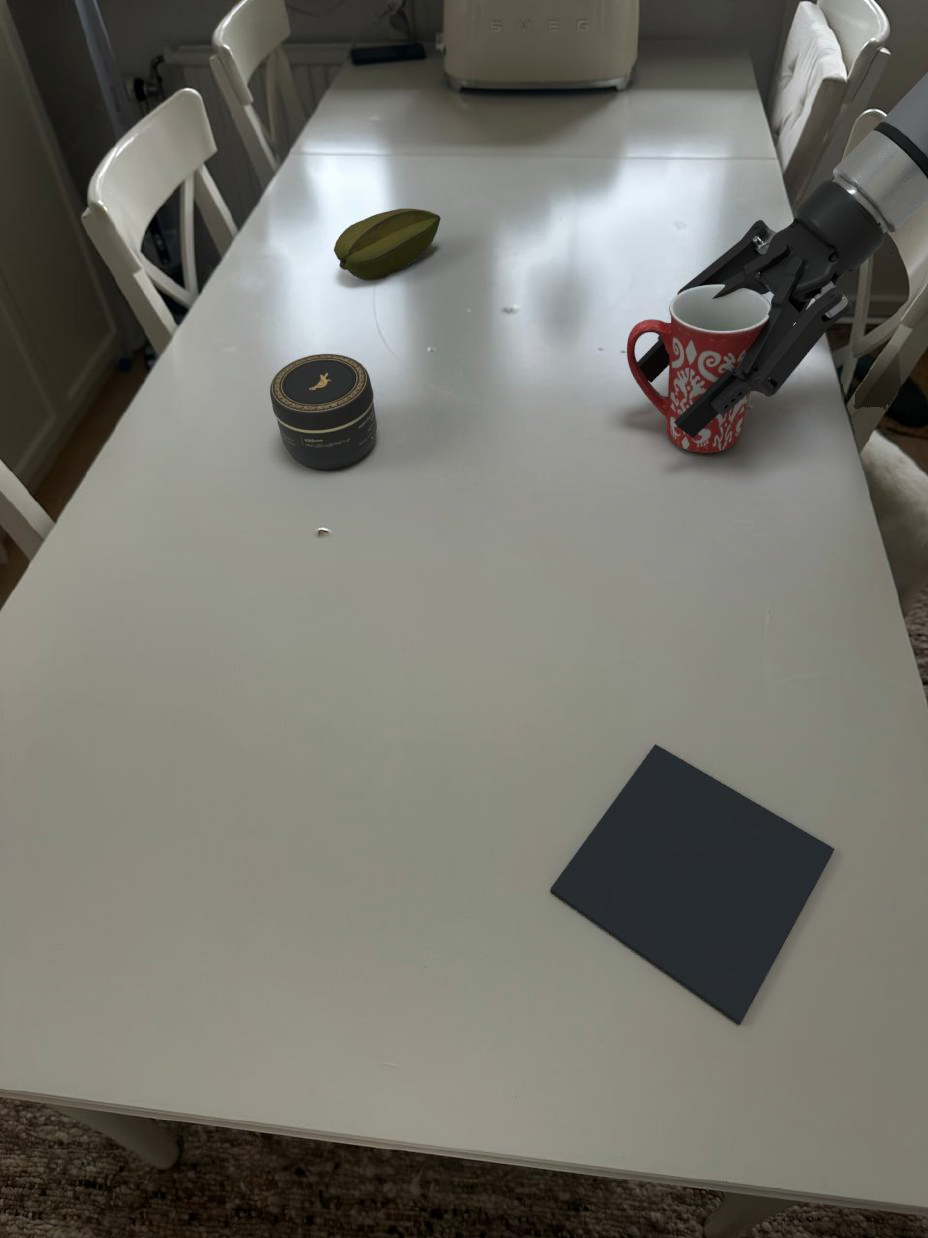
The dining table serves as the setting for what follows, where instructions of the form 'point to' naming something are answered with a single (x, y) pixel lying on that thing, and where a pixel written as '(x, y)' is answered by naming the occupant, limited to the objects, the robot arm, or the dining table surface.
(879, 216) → the robot arm
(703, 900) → the mat
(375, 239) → the fruit
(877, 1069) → the dining table surface
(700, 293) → the mug
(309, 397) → the jar
